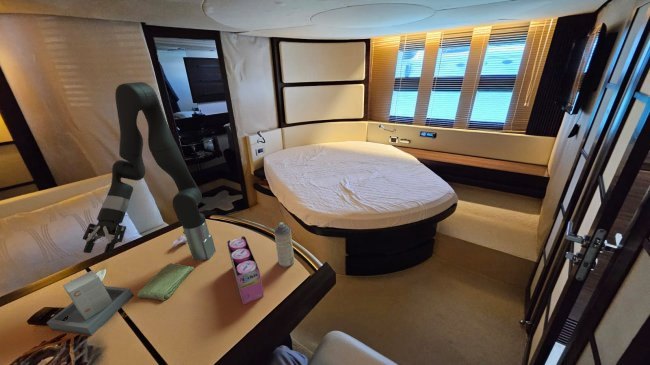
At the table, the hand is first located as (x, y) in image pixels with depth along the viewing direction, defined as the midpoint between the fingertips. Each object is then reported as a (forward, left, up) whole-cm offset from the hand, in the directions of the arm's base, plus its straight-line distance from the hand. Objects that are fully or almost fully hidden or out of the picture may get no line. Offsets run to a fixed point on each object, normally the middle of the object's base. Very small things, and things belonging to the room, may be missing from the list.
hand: (96, 253), depth 88 cm
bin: (0, +8, -19) cm, 21 cm away
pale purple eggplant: (-5, -33, -19) cm, 39 cm away
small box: (0, +8, -18) cm, 20 cm away
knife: (+16, -4, -20) cm, 26 cm away
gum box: (-48, -12, -19) cm, 54 cm away
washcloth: (-16, -7, -20) cm, 27 cm away
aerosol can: (-61, -24, -19) cm, 69 cm away
